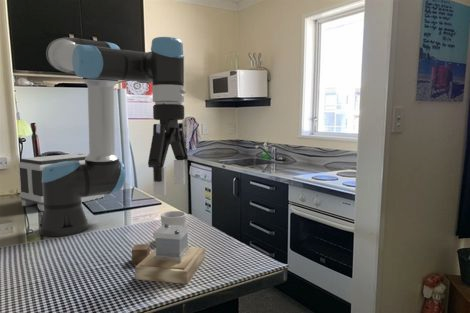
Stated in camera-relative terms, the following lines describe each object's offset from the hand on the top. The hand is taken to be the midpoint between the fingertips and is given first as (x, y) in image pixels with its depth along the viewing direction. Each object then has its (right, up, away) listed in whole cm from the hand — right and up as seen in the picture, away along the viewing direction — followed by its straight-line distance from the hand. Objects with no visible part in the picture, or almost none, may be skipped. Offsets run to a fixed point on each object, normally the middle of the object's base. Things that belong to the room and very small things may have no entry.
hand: (170, 189), depth 88 cm
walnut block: (-9, -20, +7) cm, 23 cm away
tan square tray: (0, -21, +2) cm, 21 cm away
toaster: (-61, -13, +75) cm, 98 cm away
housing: (0, -17, +2) cm, 17 cm away
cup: (-4, -18, +26) cm, 32 cm away
